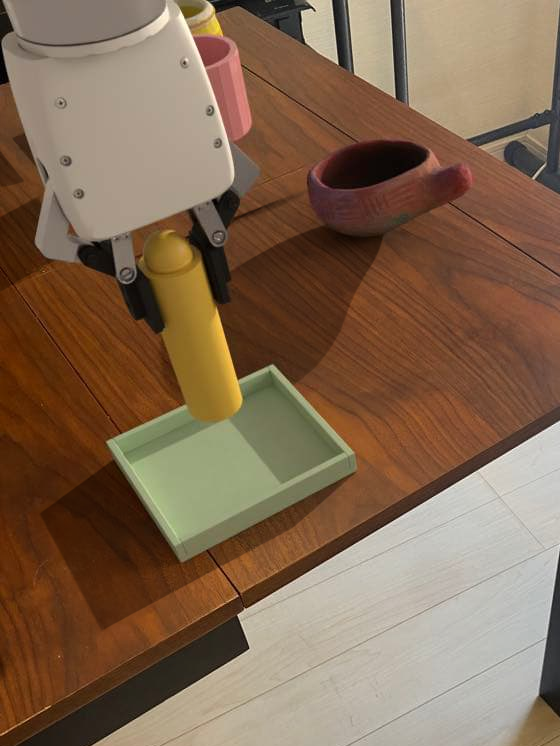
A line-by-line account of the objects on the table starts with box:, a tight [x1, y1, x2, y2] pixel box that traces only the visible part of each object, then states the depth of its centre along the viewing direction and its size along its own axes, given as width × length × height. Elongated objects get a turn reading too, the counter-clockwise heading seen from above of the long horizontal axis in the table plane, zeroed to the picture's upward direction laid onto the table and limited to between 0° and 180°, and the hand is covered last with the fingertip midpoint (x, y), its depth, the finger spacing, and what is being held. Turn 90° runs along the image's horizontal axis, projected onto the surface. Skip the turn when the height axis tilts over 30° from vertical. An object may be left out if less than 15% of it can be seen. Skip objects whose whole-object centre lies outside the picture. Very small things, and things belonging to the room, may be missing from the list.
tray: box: [105, 363, 358, 564], centre depth 66 cm, size 15×13×2 cm
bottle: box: [137, 228, 242, 423], centre depth 56 cm, size 4×4×14 cm
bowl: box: [306, 138, 474, 238], centre depth 84 cm, size 16×13×8 cm
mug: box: [173, 0, 224, 36], centre depth 108 cm, size 13×11×12 cm
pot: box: [191, 34, 253, 143], centre depth 98 cm, size 11×11×9 cm
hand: (183, 305), depth 55 cm, fingers closed on bottle, 4 cm apart
